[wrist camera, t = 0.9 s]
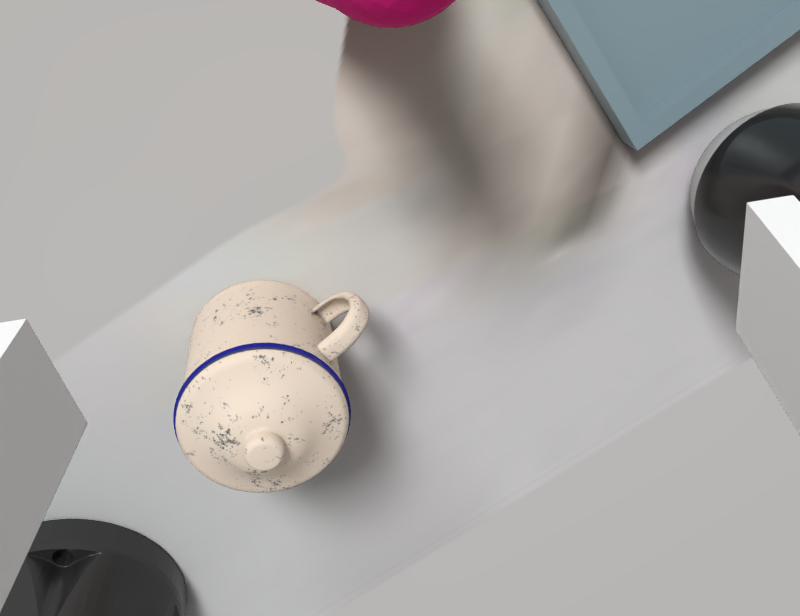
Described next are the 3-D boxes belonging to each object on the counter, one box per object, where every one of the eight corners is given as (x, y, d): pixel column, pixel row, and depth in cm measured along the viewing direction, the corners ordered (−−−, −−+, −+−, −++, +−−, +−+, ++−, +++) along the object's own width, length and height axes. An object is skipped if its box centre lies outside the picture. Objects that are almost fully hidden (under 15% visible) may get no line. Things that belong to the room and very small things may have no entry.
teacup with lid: (261, 426, 50) (261, 557, 40) (155, 339, 46) (125, 460, 36) (401, 313, 48) (439, 420, 38) (302, 212, 44) (315, 301, 34)
